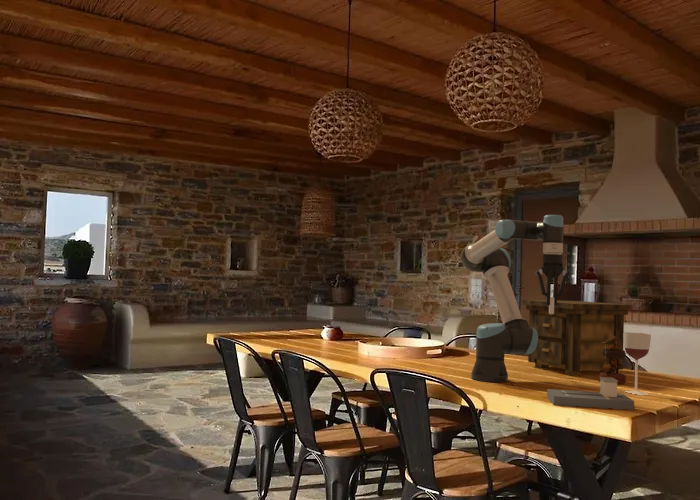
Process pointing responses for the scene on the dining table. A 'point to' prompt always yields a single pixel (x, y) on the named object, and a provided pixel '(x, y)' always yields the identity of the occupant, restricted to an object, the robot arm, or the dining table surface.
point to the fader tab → (608, 387)
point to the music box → (609, 356)
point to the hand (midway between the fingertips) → (551, 313)
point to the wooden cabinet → (575, 333)
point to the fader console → (589, 399)
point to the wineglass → (636, 351)
